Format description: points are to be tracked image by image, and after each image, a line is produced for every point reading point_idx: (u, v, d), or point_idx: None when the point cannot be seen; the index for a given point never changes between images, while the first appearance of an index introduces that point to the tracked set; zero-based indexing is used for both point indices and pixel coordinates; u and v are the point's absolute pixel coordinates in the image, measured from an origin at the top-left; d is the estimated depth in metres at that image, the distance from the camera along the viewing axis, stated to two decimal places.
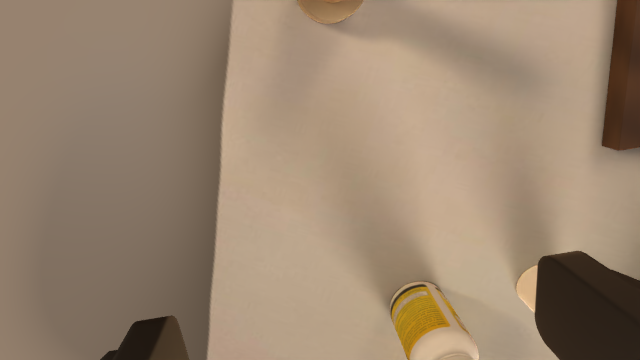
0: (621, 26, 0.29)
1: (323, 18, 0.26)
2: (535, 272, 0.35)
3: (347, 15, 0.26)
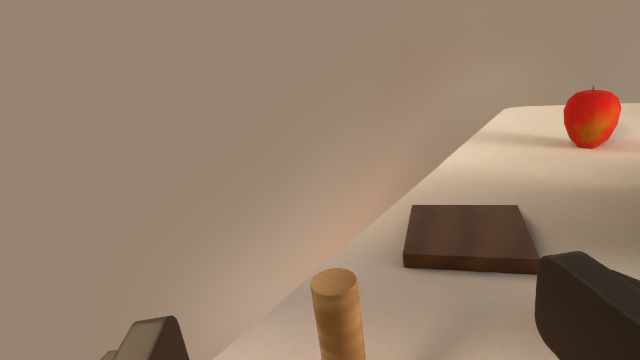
0: (443, 264, 0.43)
1: None
2: None
3: None
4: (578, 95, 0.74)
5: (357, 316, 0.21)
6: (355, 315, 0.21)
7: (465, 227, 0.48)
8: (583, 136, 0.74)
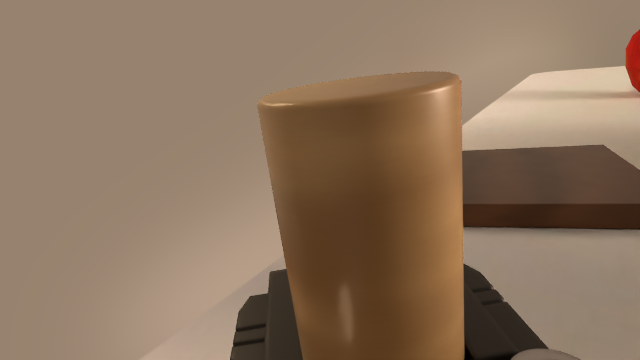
0: (513, 218, 0.27)
1: None
2: None
3: None
4: None
5: (457, 233, 0.05)
6: (453, 225, 0.05)
7: (536, 170, 0.32)
8: None
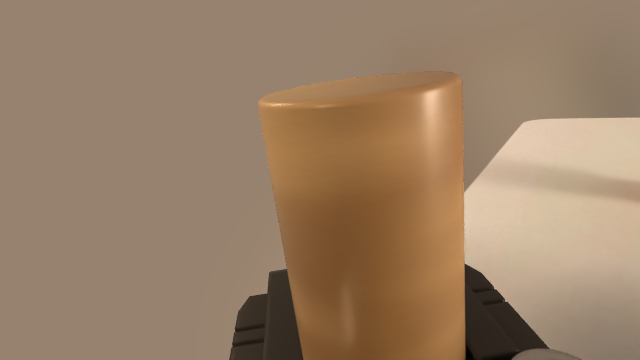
0: None
1: None
2: None
3: None
4: None
5: (458, 234, 0.05)
6: (454, 225, 0.05)
7: None
8: None
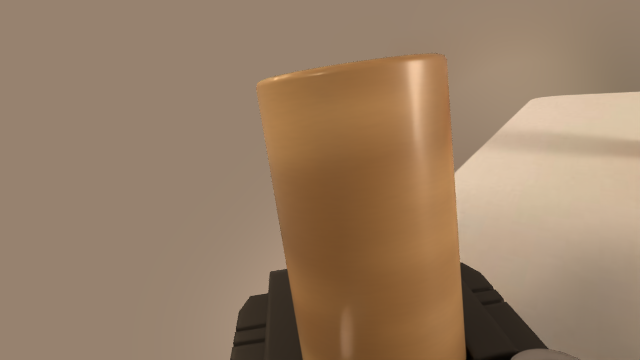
0: None
1: None
2: None
3: None
4: None
5: (448, 209, 0.05)
6: (442, 198, 0.05)
7: None
8: None
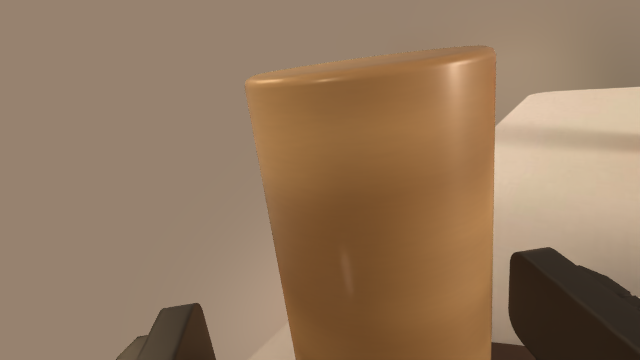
0: None
1: None
2: None
3: None
4: None
5: (482, 250, 0.04)
6: (474, 240, 0.04)
7: None
8: None
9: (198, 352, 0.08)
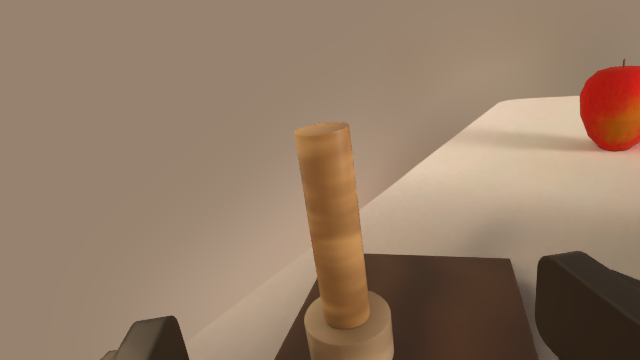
0: None
1: (379, 332, 0.19)
2: None
3: (389, 312, 0.21)
4: (602, 73, 0.50)
5: (347, 170, 0.18)
6: (344, 167, 0.17)
7: (406, 312, 0.24)
8: (609, 134, 0.51)
9: None
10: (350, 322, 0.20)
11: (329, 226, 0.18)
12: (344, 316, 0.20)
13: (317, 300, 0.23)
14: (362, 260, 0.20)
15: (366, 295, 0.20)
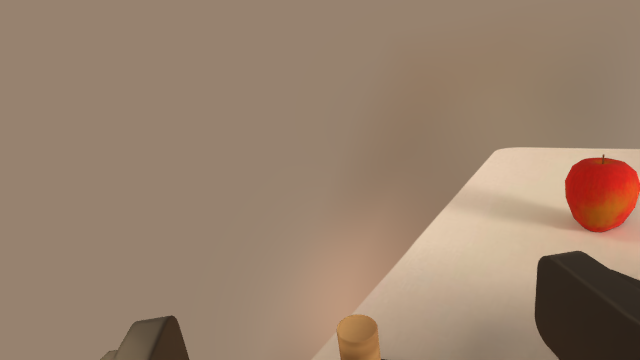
0: None
1: None
2: None
3: None
4: (584, 166, 0.57)
5: None
6: (373, 359, 0.24)
7: None
8: (590, 219, 0.57)
9: None
10: None
11: None
12: None
13: None
14: None
15: None
